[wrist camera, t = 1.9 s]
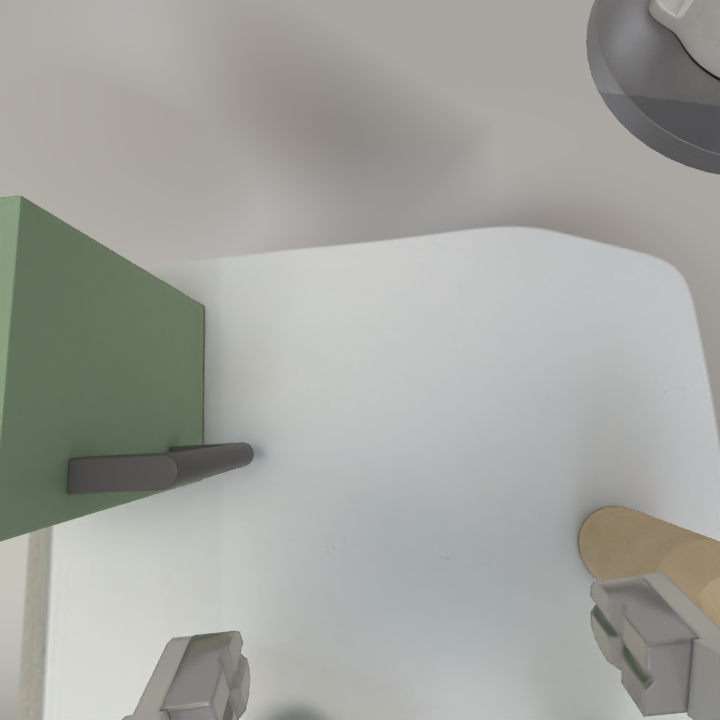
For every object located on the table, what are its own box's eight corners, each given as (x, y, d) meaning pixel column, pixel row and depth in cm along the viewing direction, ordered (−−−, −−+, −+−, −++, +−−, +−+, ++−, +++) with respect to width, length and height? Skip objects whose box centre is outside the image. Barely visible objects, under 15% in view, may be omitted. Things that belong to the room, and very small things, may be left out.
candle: (604, 602, 28) (718, 700, 18) (561, 526, 29) (648, 580, 19) (675, 566, 28) (829, 646, 18) (631, 491, 29) (754, 528, 19)
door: (266, 301, 33) (140, 182, 17) (269, 476, 31) (127, 540, 15) (192, 306, 34) (-1, 197, 17) (190, 480, 31) (-34, 545, 15)
